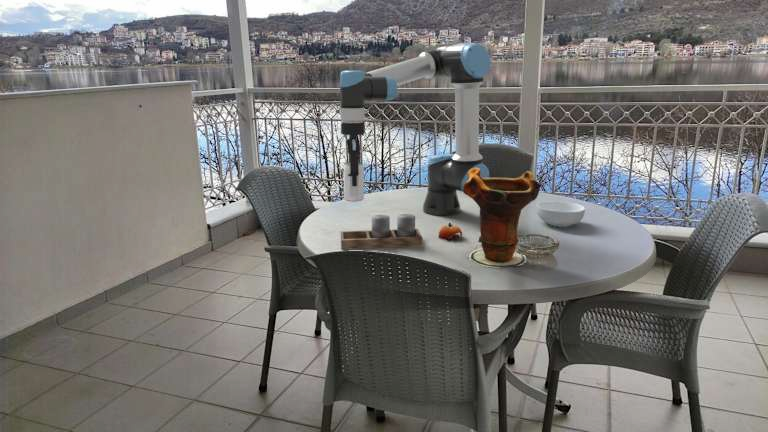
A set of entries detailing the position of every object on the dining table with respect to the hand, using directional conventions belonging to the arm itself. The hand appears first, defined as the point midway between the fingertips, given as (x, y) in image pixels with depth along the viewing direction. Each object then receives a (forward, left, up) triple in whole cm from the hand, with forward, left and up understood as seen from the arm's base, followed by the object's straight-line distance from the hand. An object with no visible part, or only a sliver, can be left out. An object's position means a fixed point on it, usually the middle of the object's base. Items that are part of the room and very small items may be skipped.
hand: (353, 192), depth 172 cm
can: (0, 0, -2) cm, 2 cm away
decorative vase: (-43, +18, -18) cm, 50 cm away
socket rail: (-9, 0, -18) cm, 20 cm away
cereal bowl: (-77, -14, -18) cm, 80 cm away
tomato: (-33, -3, -18) cm, 38 cm away
